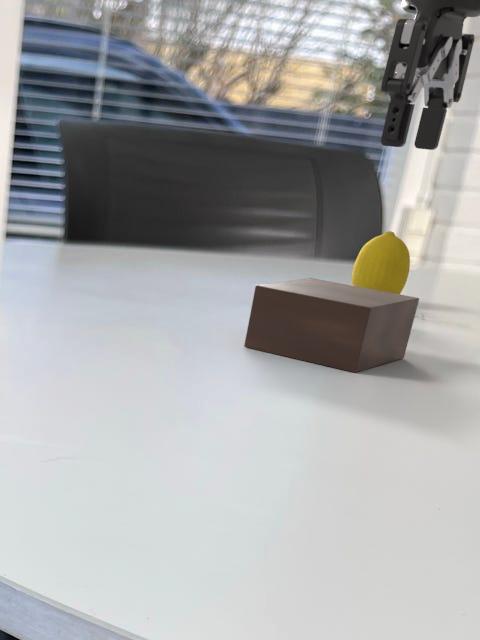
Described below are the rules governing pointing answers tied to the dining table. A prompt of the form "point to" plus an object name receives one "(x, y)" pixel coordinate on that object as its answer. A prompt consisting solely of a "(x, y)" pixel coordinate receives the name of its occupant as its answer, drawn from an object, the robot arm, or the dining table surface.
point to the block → (330, 323)
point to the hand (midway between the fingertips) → (409, 147)
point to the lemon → (382, 264)
